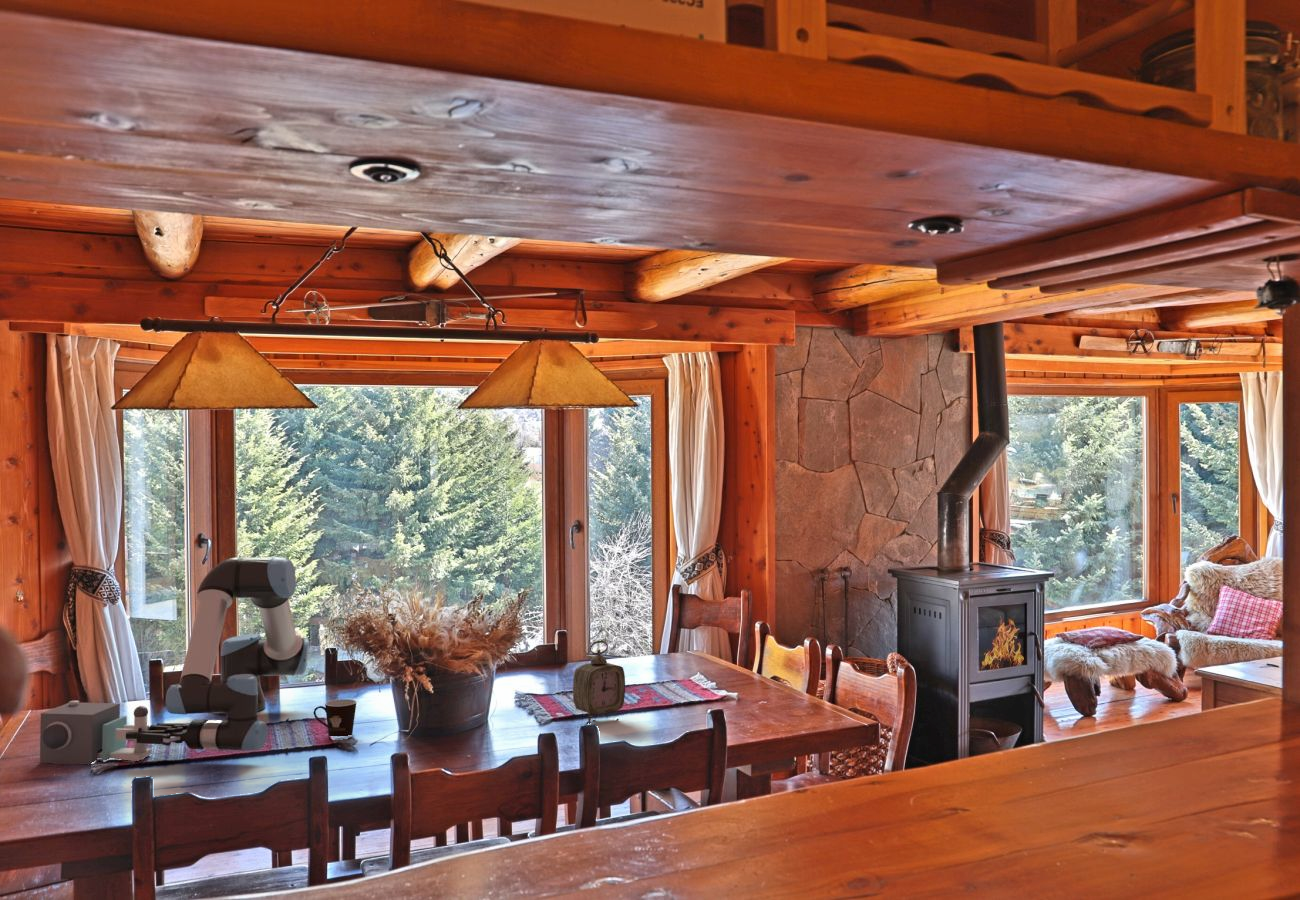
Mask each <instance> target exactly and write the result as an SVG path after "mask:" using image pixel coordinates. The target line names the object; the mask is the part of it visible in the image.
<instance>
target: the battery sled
mask: <svg viewBox="0 0 1300 900" xmlns="http://www.w3.org/2000/svg"><path fill="white" fill-rule="evenodd" d="M148 713H149V709H148V708H147V707H146V706H143V705H138V707H135V709H134V710H133V716H134V722H133V725H134V729H138V728H142V731H145V730H147V725H148ZM124 725H127V715H126V716H124V715H123V716H120V718H118V719H116V720H113V721H111V722H109V723H106V724H104V725H103V741H102V749H100V750H98V758H102V760H107V759H109V758H115V759H124V760H141V759H142V758H144V757H146V756H149V755H150V754H152V755H153V748H148V747H147V745H148V744H146V743H136V742H137V741H136V740H133V747H127V740H115V735H116V729H117V728H118V729H124ZM149 757H150V756H149ZM102 760H101V761H102ZM141 761H142V760H141Z"/></svg>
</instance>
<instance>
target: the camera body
mask: <svg viewBox="0 0 1300 900" xmlns="http://www.w3.org/2000/svg"><path fill="white" fill-rule="evenodd" d="M120 711H121V704H120V703H110V702H105V703H104V702H103V703H102V702H80V700H70V701H68V702H67V703H64V704H62V705H60V706H57V707H53V708H52V709H49V710H46V711H44V712H41V713H40V728H39V729H40V734H39V735H40V737H39V739H40V740H39V742H40V743H39V752H40V753H39V764H41V763H54V764H53V765H74V764H88V765H87V766H90V765H89V764H91V763H92V762H94V761H95V760H97V758H98V750H100V749H102V741H103V725H104V724H106V723H109V722H111V721H113V720H116V719H118V718H120V717H121V716H120V714H121V713H120ZM97 761H98V760H97ZM55 763H56V764H55Z"/></svg>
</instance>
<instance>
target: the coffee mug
mask: <svg viewBox="0 0 1300 900" xmlns="http://www.w3.org/2000/svg"><path fill="white" fill-rule="evenodd" d="M318 709H322V710H324V711H325V713H326V722H324V721H322V720H321V719H320V718H319V717H318V716H317V714H316V713H317V710H318ZM356 709H357V701H356V700H355V699H349V698H341V699H340V698H339V699H331V700H328V701H326V702H325V703H324V706H322V705H318V706H316V707H315V708H314V709H313V716H314V718H315V719H316V720H317V721H318V722H319V723H320V724H321V725H323V726H324V727H326V728H327V734H328V737H329V736H348V735H352V736H353V733H354V732H353V731H354V726H355V725H354V723H355V717H356Z"/></svg>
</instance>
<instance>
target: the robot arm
mask: <svg viewBox="0 0 1300 900" xmlns="http://www.w3.org/2000/svg"><path fill="white" fill-rule="evenodd" d="M296 587H297V578H296V569H295V565H294V563H293V561H292V560H291V559H290V558H288V557H280V556H259V557H258V556H253V557H252V556H251V557H250V556H249V557H238V556H237V557H236V556H235V557H230V558H227V559H224V560H223V561H221V562H219V563H218V564H216V565H215V566H214V567H213V568H212V569H211V570H210V571H209V572H207V574H206V575H205V577H204V578H203V579H202V581H201V583H200V584H199V586H198V589H197V592H196V598H195V601H196V603H197V604H198V605H197V609H196V614H195V617H194V622H193V625H192V630H191V634H190V638H189V640H188V641H189V643H188V646H187V649H186V650H187V651H186V654H185V659H184V663H183V667H182V670H181V675H180V679H179V683H176V684H171V685H169V687H168V689H167V691H166V693H165V707H166V711H167V713H169V714H173V715H191V714H193V715H194V714H219V715H224V716H226V720H225V719H194V720H191V722H185V723H180V722H179V723H178V722H177V723H175V722H173V723H171V722H168V723H167V722H157V723H156V724H151V725H148V724H147V730H145V731H142V728H138V729H134V724H126V725H124V729H118V728H117V729H116V735H115V740H126V741H134V740H136V741H137V742H136V743H146V744H147V745H162V746H166V747H167V746H168V747H169V746H171V744H172V743H175V744H182V743H183V742H184V743H185V744H186V746H187V748H189V750H204V749H205V750H214V752H216V753H217V752H218V751H220V750H221V751H223V750H225V751H238V752H239V751H242V752H249V751H250V752H251V751H253V752H254V751H259V750H261V749H263V747H264V746H265V744H266V743H267V741H268V740H267V739H268V734H269V730H268V725H267V723H266V722H265V721H261V720H259V717H258V712H260V710H261V711H263V710H264V708H265V709H266V697H265V695H264V692H263V689H262V687H261V677H270V676H271V677H274V676H299V675H300V676H301V675H303V674H305V672H306V670H307V667H308V658H309V647H310V639H309V638H307V637H302V635H301V633H299V631H297V630H296V629H295V624H294V619H293V614H292V611H291V606H290V601H289V599H290V598H291V597H292V596H293V595H294V594H295V590H296ZM237 598H238V599H243V598H244V599H248V598H249V599H250V601H251V603H252V604H253V605H254V606H255V607H258V611H259V614H260V615H259V616H260V619H261V622H262V625H263V629H264V634H265V637H266V638H262V636H261V634H259V633H248V634H242V635H237V636H233V637H232V636H231V637H229V638H226V639H225V640H224V641H223V642H222V643H221V642H220V641H221V637H222V632H223V629H224V624H225V620H226V615H227V610H228V609H229V608H230V607H231V606H232V604H233V601H234V599H237ZM220 643H221V646H220ZM219 646H220V647H221V648H220V649H221V650H220V654H219V656H220V683H211V682H212V678H213V673H214V668H215V664H216V661H217V655H218V652H219ZM262 709H263V710H262ZM257 711H258V712H257Z"/></svg>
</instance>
